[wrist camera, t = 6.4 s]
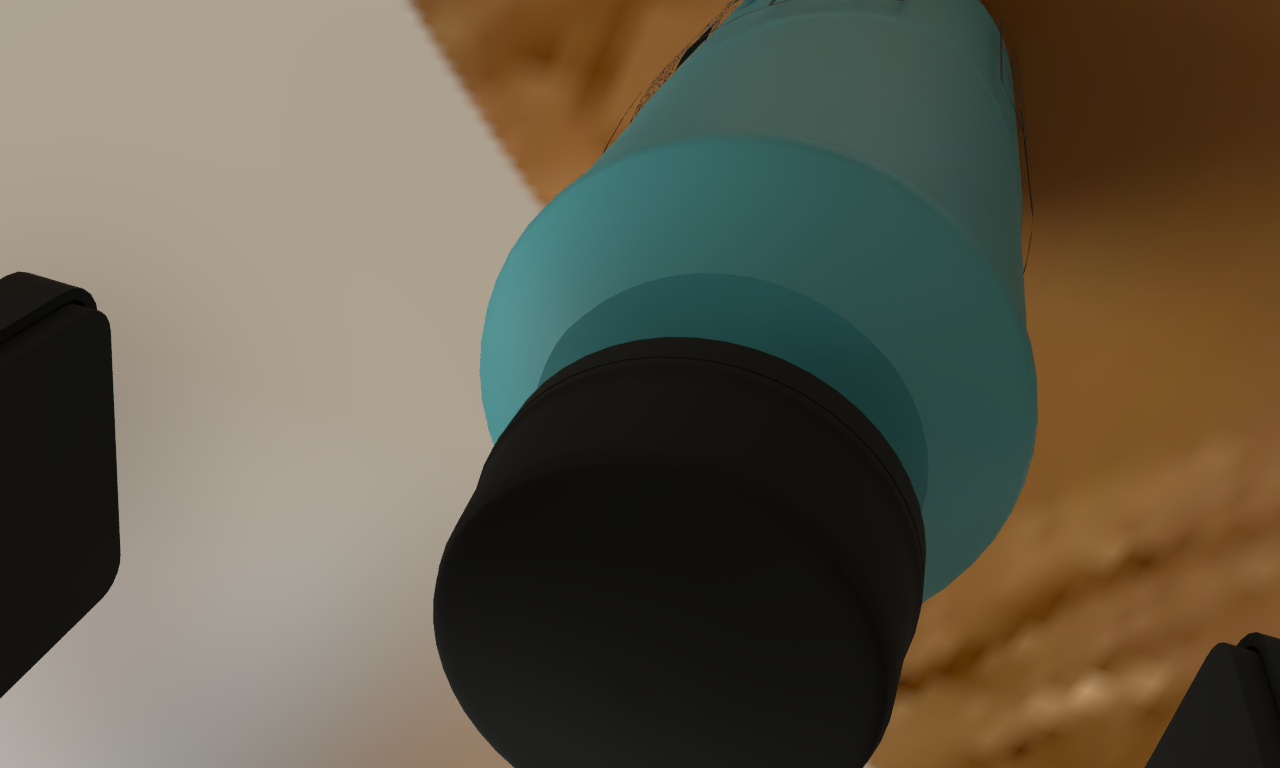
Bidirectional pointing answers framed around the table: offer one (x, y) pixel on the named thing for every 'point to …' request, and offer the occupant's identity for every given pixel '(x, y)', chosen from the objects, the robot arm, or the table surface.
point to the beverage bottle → (750, 399)
